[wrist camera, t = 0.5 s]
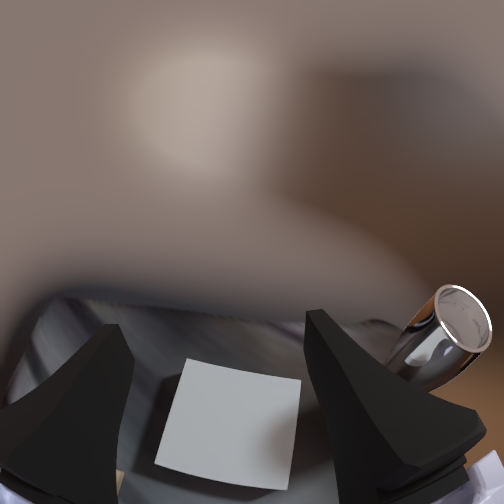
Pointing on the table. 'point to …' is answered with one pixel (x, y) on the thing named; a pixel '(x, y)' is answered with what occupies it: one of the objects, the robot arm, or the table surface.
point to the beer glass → (441, 339)
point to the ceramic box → (231, 426)
